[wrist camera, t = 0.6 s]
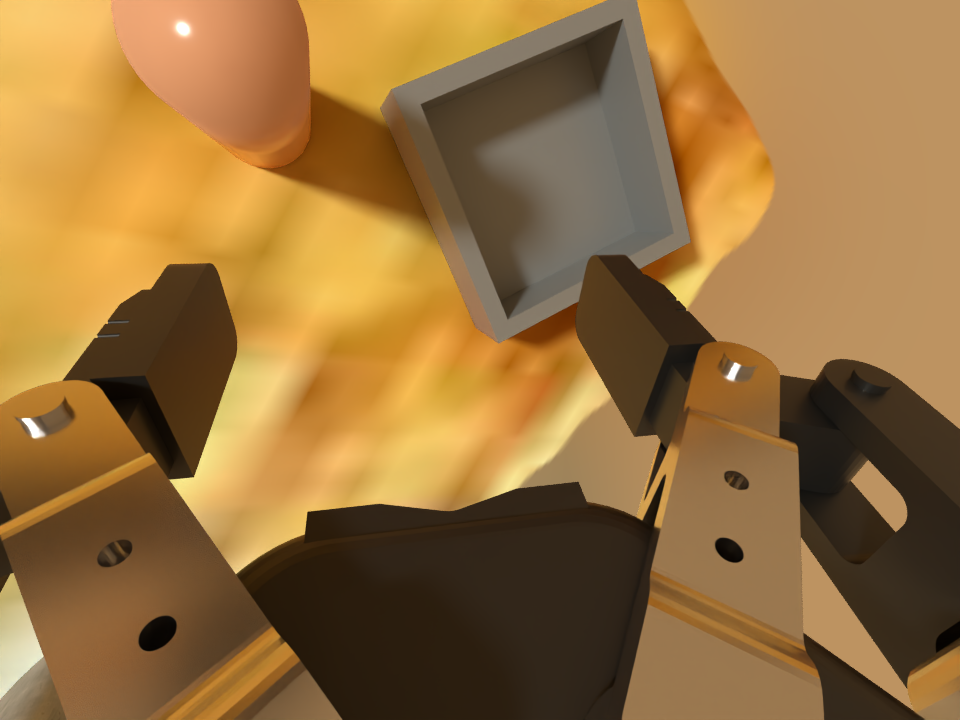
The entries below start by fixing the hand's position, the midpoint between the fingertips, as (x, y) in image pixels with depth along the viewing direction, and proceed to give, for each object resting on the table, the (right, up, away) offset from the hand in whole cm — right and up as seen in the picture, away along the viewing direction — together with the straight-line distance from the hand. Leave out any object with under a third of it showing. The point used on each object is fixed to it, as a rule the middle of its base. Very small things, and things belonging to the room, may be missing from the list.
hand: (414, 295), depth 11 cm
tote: (+5, +12, +25) cm, 28 cm away
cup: (-12, +13, +18) cm, 25 cm away
